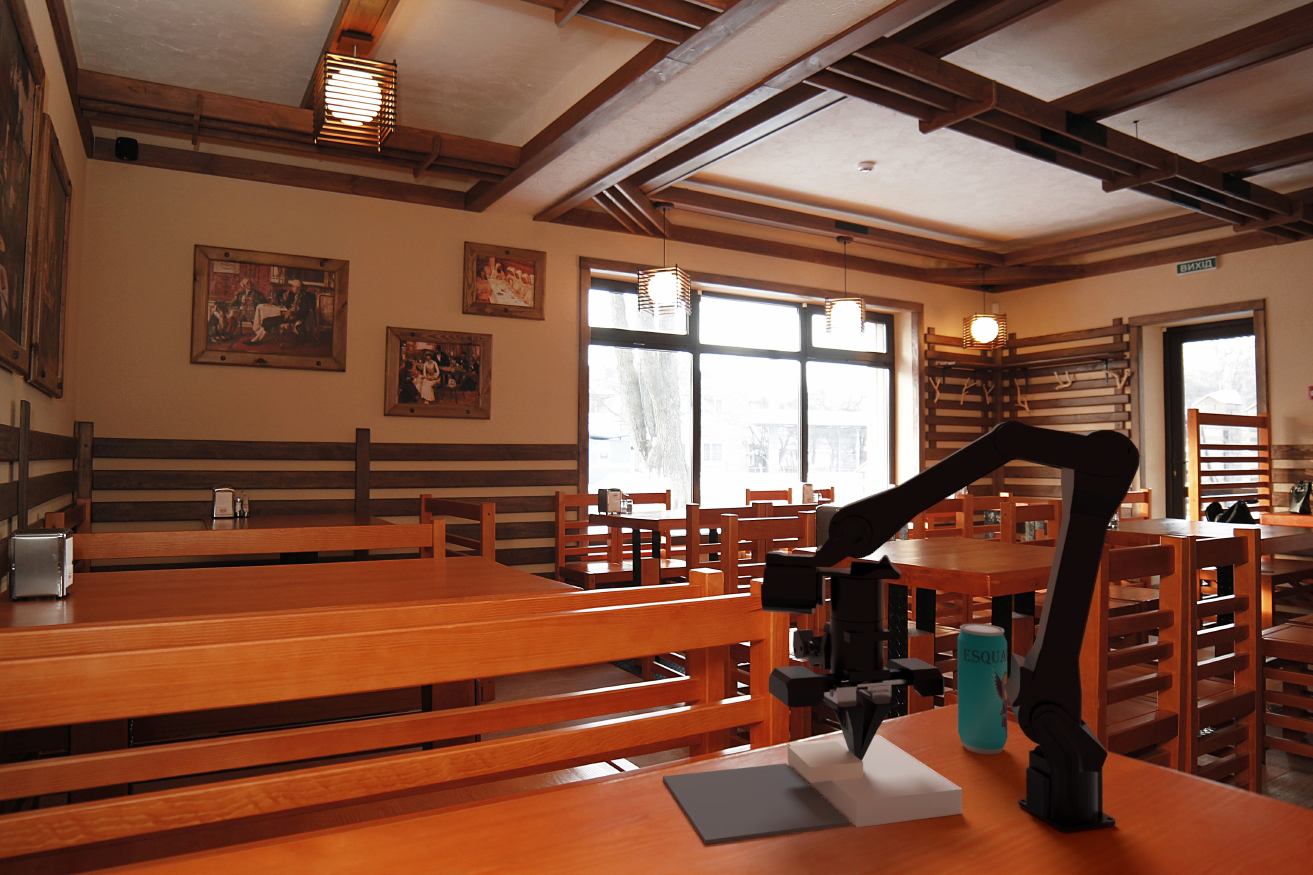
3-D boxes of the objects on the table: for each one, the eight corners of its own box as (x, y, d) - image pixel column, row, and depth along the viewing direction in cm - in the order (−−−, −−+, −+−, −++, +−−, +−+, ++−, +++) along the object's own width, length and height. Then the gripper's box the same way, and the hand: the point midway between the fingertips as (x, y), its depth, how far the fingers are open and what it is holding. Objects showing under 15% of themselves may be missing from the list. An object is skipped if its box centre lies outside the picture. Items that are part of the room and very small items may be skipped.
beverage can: (1003, 760, 94) (1002, 635, 94) (953, 750, 97) (952, 629, 97) (1010, 745, 99) (1010, 626, 99) (963, 736, 102) (962, 621, 102)
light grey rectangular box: (878, 755, 95) (878, 734, 95) (962, 813, 80) (962, 788, 80) (788, 764, 92) (788, 743, 92) (856, 827, 77) (856, 801, 77)
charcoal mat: (785, 766, 91) (786, 763, 91) (849, 825, 77) (849, 821, 77) (662, 779, 88) (662, 776, 88) (705, 844, 73) (705, 839, 73)
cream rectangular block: (837, 755, 88) (837, 741, 88) (863, 777, 82) (863, 762, 82) (787, 760, 87) (787, 746, 87) (810, 782, 81) (810, 767, 81)
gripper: (892, 600, 96) (892, 727, 96) (750, 607, 91) (749, 740, 91) (947, 618, 85) (947, 762, 85) (790, 627, 81) (789, 779, 80)
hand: (856, 759), depth 86 cm, fingers closed
